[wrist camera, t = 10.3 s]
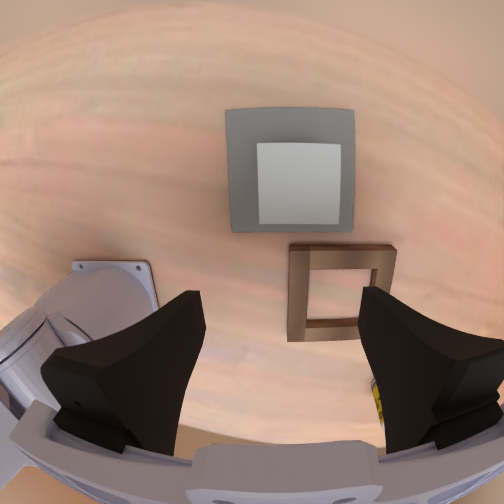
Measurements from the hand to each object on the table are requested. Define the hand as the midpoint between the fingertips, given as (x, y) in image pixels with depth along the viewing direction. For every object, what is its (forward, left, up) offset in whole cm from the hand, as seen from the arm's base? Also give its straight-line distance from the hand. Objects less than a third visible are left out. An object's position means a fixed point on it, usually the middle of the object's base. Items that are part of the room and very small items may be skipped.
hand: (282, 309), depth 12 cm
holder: (+5, -5, -10) cm, 12 cm away
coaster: (+1, +5, -10) cm, 11 cm away
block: (+1, +5, -9) cm, 10 cm away
